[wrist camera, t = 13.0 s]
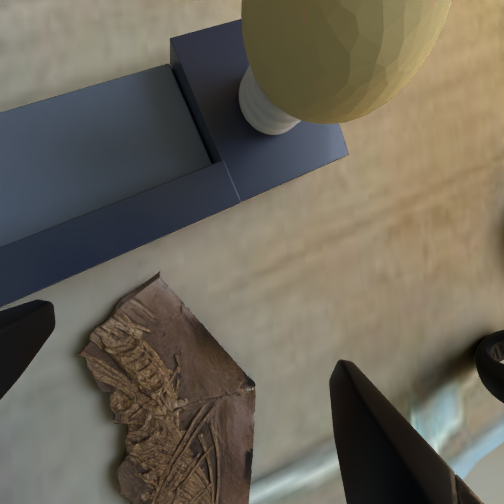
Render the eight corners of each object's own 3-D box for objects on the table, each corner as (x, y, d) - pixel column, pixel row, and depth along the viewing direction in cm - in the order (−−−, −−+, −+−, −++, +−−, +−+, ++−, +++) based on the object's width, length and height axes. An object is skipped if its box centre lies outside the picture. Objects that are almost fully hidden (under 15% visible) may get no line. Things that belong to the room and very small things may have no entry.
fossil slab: (64, 295, 17) (57, 299, 16) (228, 257, 20) (231, 259, 19) (158, 601, 22) (157, 620, 21) (283, 534, 24) (288, 547, 23)
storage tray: (-117, 355, 15) (-266, 423, 10) (-237, 207, 14) (-496, 196, 8) (314, 168, 22) (359, 150, 17) (273, 50, 20) (309, -13, 15)
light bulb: (252, 18, 15) (395, -347, 5) (334, 97, 17) (550, -69, 7) (189, 112, 14) (224, -100, 5) (281, 183, 16) (435, 127, 7)
